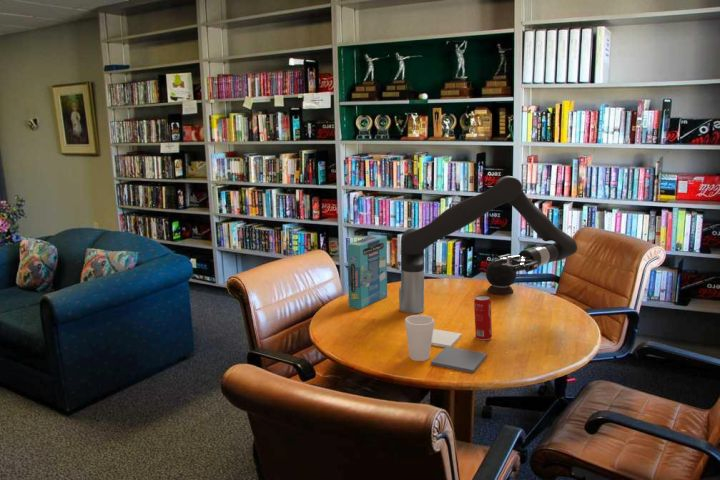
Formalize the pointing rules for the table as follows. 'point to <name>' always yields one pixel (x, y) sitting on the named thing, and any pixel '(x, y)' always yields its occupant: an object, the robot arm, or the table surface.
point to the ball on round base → (500, 279)
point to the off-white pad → (444, 338)
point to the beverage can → (483, 318)
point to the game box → (367, 271)
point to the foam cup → (419, 336)
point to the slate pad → (459, 359)
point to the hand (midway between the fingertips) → (503, 266)
